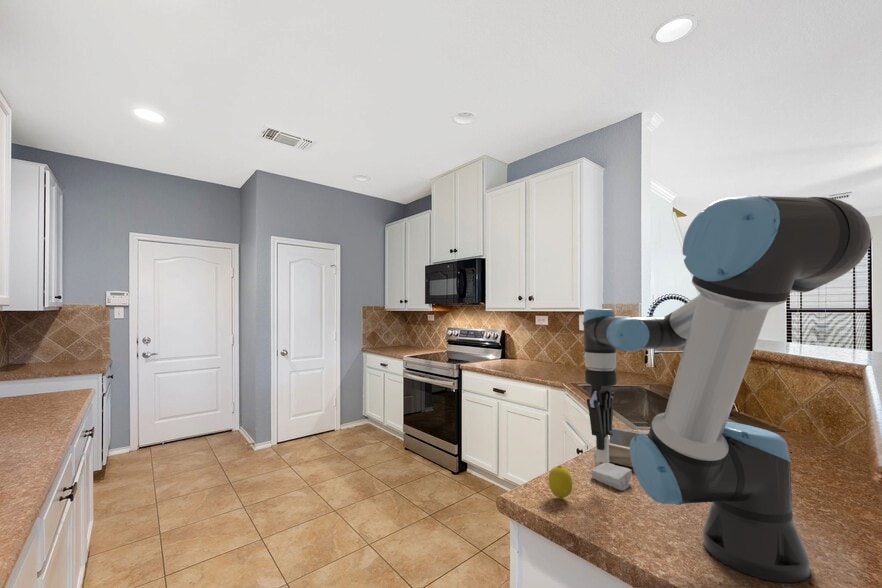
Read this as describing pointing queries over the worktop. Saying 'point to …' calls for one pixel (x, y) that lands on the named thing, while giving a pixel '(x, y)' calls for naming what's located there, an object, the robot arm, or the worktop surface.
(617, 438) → the wall
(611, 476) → the grey stone block
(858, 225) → the robot arm
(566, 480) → the lemon
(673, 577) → the worktop surface
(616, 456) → the cradle
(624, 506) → the worktop surface
